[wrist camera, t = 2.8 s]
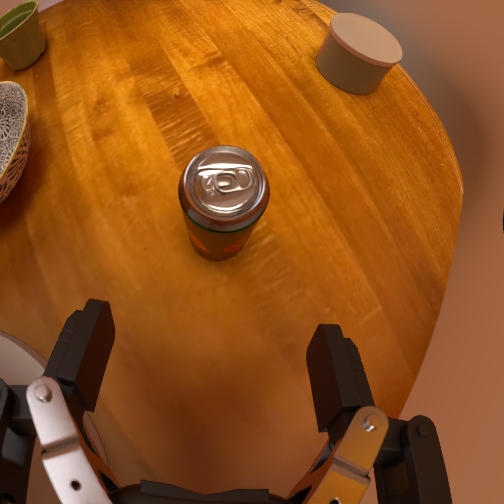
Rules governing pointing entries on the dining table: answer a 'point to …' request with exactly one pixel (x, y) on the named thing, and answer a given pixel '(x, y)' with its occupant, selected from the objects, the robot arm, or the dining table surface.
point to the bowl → (13, 135)
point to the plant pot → (21, 36)
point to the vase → (39, 487)
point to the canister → (357, 53)
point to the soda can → (222, 200)
